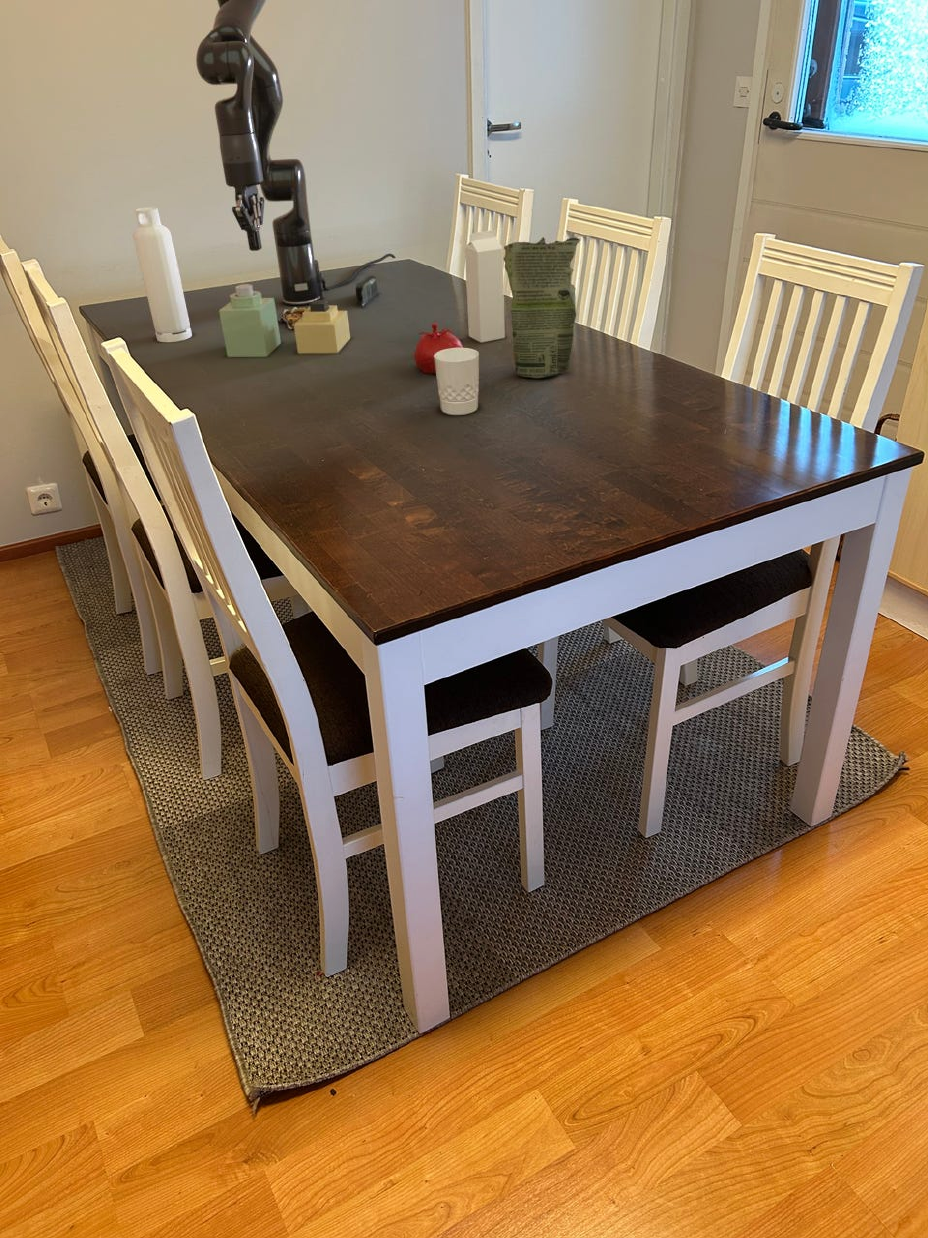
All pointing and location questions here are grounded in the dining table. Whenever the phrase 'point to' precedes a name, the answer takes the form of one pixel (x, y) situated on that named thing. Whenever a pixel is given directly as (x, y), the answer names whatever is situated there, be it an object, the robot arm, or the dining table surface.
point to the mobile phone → (366, 290)
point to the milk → (485, 287)
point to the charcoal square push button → (319, 306)
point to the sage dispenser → (250, 326)
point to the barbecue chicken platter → (292, 316)
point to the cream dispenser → (322, 331)
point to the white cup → (457, 380)
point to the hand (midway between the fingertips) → (255, 249)
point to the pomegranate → (433, 348)
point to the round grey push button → (244, 290)
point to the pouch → (541, 305)
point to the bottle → (161, 277)
